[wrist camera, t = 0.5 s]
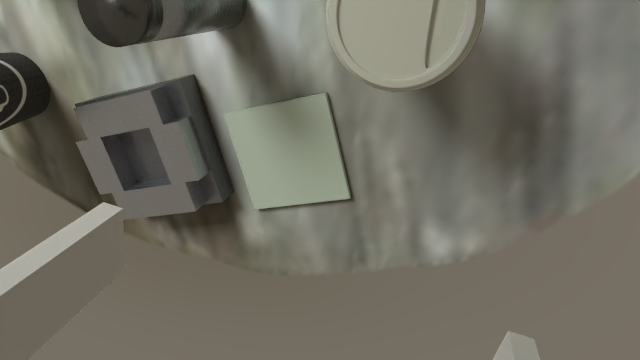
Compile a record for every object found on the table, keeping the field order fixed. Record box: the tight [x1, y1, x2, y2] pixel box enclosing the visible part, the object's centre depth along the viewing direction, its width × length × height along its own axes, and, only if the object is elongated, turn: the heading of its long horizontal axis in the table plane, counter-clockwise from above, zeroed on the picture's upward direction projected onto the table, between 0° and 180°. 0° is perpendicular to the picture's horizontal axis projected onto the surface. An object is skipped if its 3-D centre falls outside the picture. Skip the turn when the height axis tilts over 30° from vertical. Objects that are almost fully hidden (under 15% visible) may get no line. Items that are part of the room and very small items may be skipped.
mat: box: [224, 92, 351, 209], centre depth 39 cm, size 10×10×1 cm
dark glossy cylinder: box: [78, 0, 246, 47], centre depth 29 cm, size 4×4×14 cm
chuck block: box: [74, 74, 234, 220], centre depth 40 cm, size 12×12×4 cm
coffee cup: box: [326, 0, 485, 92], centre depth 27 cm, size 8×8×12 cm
